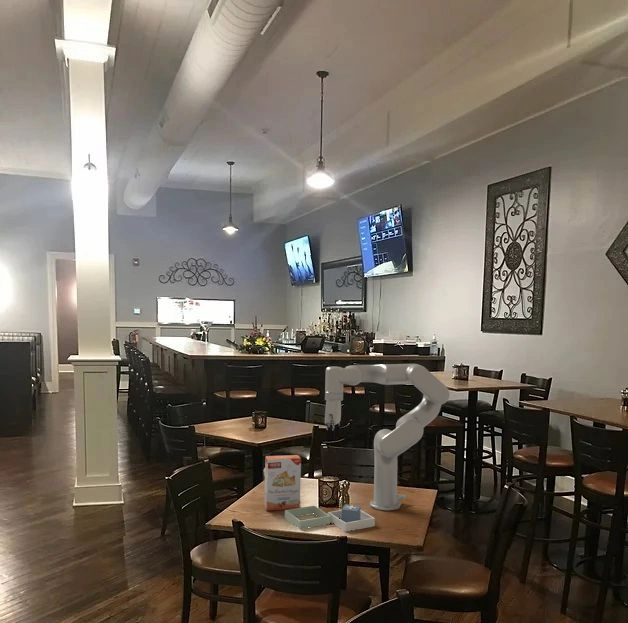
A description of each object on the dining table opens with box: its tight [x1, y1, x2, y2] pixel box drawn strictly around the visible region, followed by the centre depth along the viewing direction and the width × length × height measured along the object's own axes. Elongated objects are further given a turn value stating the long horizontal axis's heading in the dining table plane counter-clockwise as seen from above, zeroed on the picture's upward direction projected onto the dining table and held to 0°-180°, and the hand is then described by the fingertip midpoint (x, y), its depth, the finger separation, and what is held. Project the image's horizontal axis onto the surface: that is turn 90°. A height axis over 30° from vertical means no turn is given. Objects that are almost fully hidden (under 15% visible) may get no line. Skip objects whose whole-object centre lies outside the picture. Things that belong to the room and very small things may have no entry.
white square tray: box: [327, 509, 376, 533], centre depth 210 cm, size 13×13×3 cm
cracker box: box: [263, 454, 302, 512], centre depth 226 cm, size 14×6×21 cm, turn 105°
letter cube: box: [340, 503, 361, 523], centre depth 210 cm, size 6×6×6 cm
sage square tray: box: [284, 505, 332, 530], centre depth 211 cm, size 13×13×3 cm
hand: (333, 437), depth 230 cm, fingers open, 9 cm apart
